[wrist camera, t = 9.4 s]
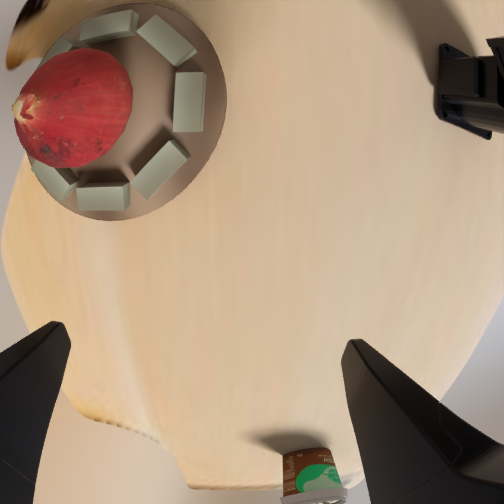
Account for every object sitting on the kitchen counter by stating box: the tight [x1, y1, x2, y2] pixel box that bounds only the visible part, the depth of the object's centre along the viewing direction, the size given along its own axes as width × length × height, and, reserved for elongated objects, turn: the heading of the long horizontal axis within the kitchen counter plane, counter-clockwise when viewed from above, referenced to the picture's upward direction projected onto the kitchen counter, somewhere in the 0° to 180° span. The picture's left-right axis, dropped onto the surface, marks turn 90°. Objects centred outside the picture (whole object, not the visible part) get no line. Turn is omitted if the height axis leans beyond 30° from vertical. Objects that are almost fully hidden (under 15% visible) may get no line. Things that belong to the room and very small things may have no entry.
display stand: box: [23, 3, 227, 221], centre depth 14 cm, size 14×14×3 cm
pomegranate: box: [12, 48, 133, 168], centre depth 10 cm, size 6×6×8 cm
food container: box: [280, 448, 348, 504], centre depth 32 cm, size 12×6×10 cm, turn 51°
